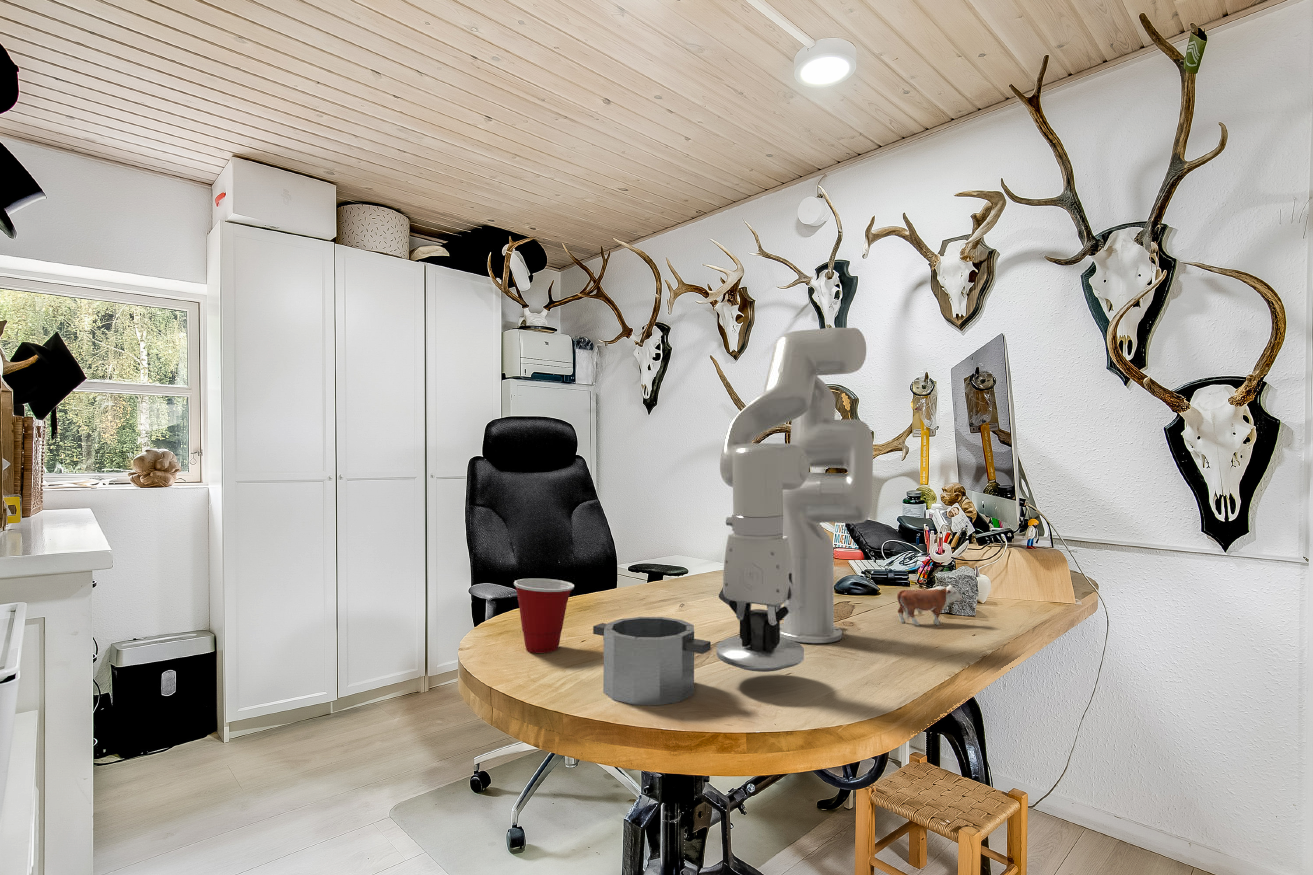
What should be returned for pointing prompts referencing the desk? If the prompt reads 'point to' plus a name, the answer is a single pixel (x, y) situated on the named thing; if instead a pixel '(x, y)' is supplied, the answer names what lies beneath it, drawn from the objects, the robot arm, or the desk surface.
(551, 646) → the plastic cup
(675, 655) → the pot
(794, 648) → the lid
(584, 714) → the desk surface
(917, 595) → the bull figurine
